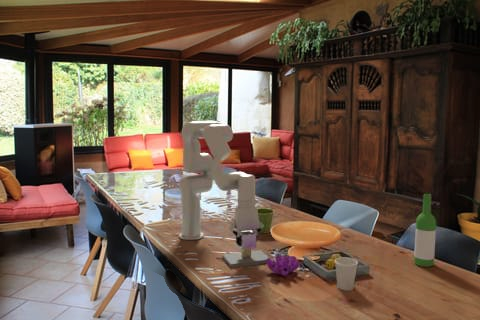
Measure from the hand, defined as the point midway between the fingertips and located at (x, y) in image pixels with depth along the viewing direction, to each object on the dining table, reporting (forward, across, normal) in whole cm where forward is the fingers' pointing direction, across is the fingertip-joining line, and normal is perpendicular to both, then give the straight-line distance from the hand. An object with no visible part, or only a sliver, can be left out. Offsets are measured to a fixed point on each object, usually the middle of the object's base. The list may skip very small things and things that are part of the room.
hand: (246, 243), depth 184 cm
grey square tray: (+8, -31, +21) cm, 38 cm away
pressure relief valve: (+8, -33, +23) cm, 41 cm away
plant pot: (+7, -23, -37) cm, 44 cm away
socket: (+1, 0, 0) cm, 1 cm away
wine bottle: (+8, -69, +29) cm, 75 cm away
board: (+7, 0, 0) cm, 7 cm away
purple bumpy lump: (+8, -9, +18) cm, 21 cm away
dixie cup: (+8, -25, +38) cm, 46 cm away
